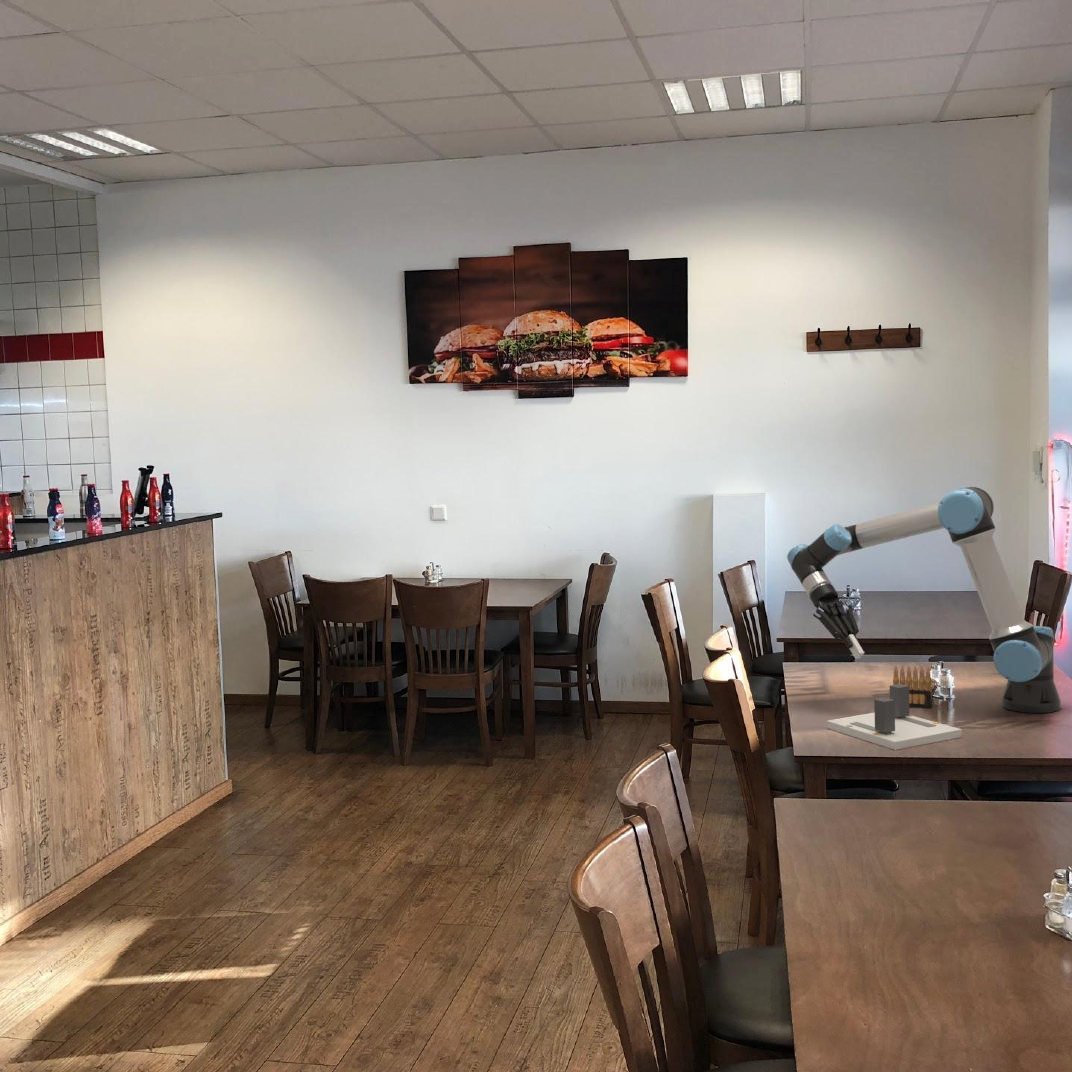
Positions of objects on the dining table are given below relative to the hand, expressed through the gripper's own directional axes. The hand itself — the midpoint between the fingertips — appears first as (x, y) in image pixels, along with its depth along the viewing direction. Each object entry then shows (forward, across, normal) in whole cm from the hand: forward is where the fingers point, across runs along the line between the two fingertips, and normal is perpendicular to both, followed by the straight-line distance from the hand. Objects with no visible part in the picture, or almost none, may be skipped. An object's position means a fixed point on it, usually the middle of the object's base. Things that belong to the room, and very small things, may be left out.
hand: (860, 655), depth 315 cm
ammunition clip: (+13, -17, -10) cm, 24 cm away
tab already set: (+28, +14, +8) cm, 32 cm away
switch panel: (+26, +7, +3) cm, 27 cm away
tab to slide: (+21, 0, +1) cm, 21 cm away
